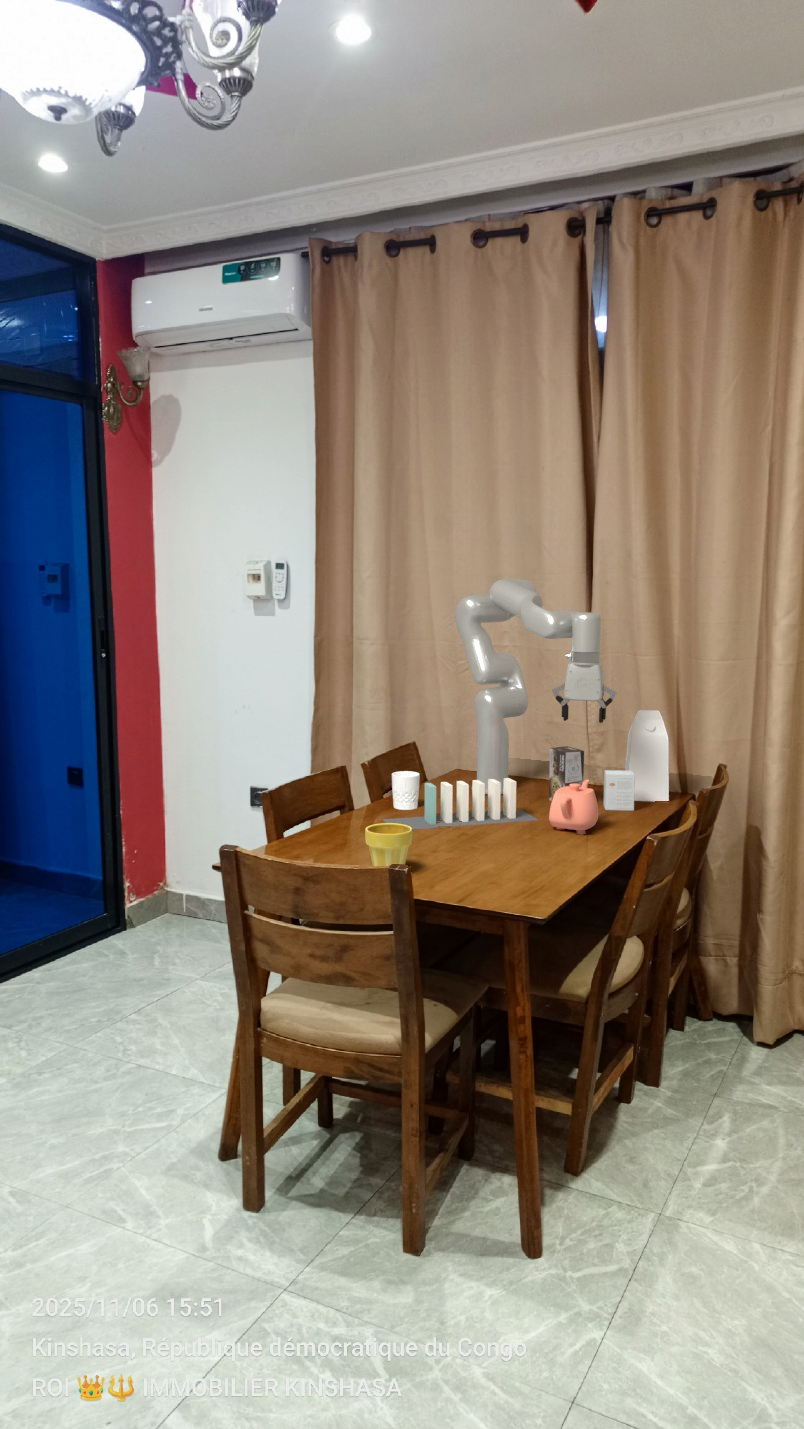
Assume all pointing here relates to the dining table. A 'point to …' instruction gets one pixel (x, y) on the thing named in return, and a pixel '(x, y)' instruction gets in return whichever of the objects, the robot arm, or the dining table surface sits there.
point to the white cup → (405, 789)
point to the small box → (619, 790)
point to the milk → (649, 756)
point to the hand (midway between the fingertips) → (583, 721)
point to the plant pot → (388, 843)
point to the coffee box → (565, 768)
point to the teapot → (574, 808)
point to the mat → (422, 824)
